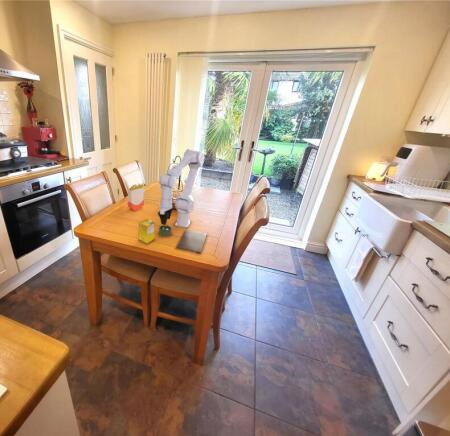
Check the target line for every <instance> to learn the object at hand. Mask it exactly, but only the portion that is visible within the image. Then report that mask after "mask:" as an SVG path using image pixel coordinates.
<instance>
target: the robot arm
mask: <svg viewBox="0 0 450 436" xmlns="http://www.w3.org/2000/svg"><path fill="white" fill-rule="evenodd" d="M204 160H205V153H204V151H202V150H195V149H190V148H187V149H186V150H185V151H184V152H183V157H182V158H181V160H180V161H179V162H178V164H176V165H175V164H174V165H173V166H172V167H171V168H170V169H169V170H168V171H167V172H166V173H165V174H162V175H161V176H160V177H159V181H158V182H159V185H160V190H161V191H160V192H161V193H160V194H161V195H160V203H159V204H158V207H160V210H158V211H157V216H158V217H159V220H160V224H161V226H163V225H165V224H166V221H167V219H168V220H170V219H171V216H172V213H173V210H174V209H176V211H177V212H176V222H175V224H174V226H176V227H181V228H189V226H190V224H191V220H190V216H191V212H192V211H193V209H194V205H195V204H194V203H195V200H194V198H193V197H192V194H193V191H194V188H195V184H196V181H197V178H198V175H199V172H200V169H201V168H202V167H203V163H204ZM187 166H189V171H188V173H187V177H186V181H185V184H184V188H183V191H182V193H181V194H179V195H178V196H177V198H176V200H175V202H174V205H173V192H174V191H173V190H174V187H175V186H176V183H177V181H178V179H179V177H180V176H181V175H182V174H183V170H184V169H185V168H186V167H187Z"/></svg>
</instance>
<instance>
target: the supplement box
mask: <svg viewBox="0 0 450 436" xmlns="http://www.w3.org/2000/svg"><path fill="white" fill-rule="evenodd" d="M155 223H156V222H155V221H153V220H151V219H149V218H144V219H142V220H141V221H138V237H139V238H138V240H139V241H140V242H143V243H145V244H147V245H148V244H150V243H151V242H153V241H154V240H155V229H156V228H155V226H156V224H155Z"/></svg>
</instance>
